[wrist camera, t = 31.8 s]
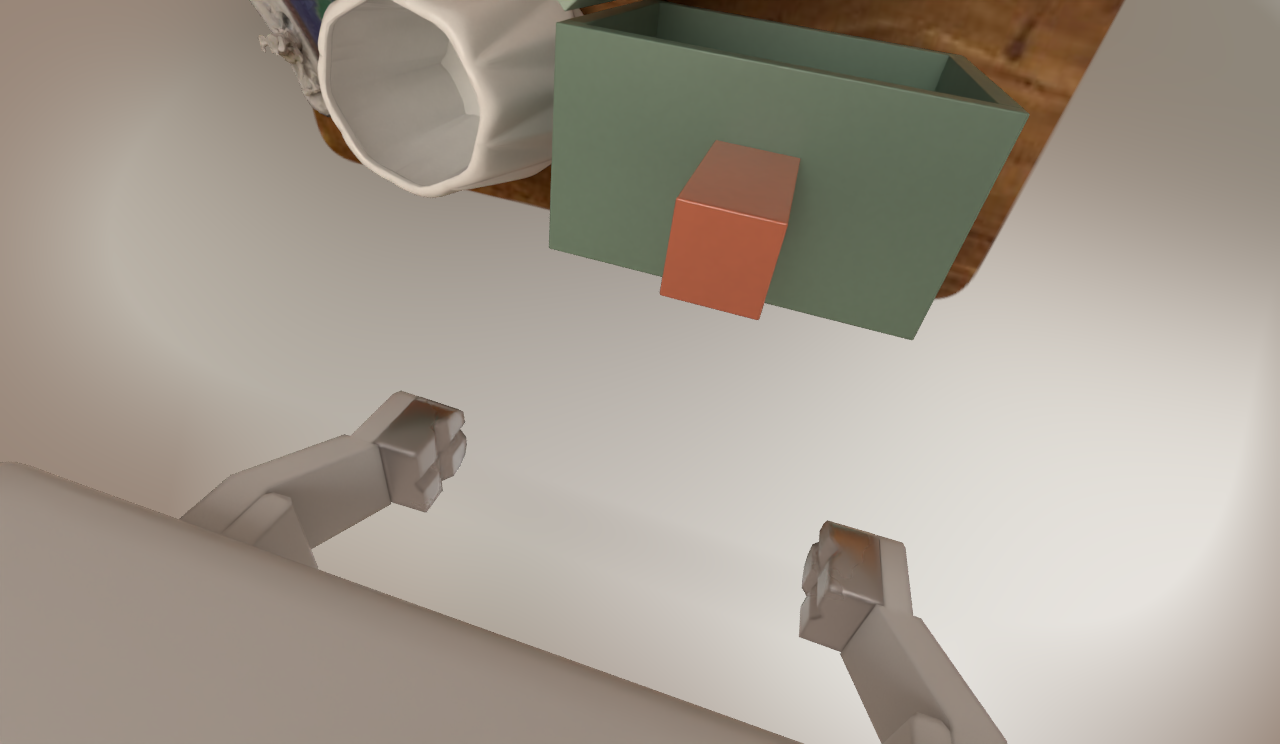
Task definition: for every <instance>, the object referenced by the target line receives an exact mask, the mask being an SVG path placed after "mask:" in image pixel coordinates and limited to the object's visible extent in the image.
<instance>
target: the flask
mask: <svg viewBox="0 0 1280 744" xmlns="http://www.w3.org/2000/svg"><path fill="white" fill-rule="evenodd" d="M249 1H250V2H251V3H252V4H253V6H254V7H255V9H256V11H257V12H258V13H259V14H260V16H261V17H262V18H263V20H264V21H265V23H266V24H267V26H268V28H269V29H270V30H271V32H272V33H271V34H268V35H267V37H264V36H262V35H259V37H258V40H259V42H260V44H261V50H262V51H263V52H266V49H265V47H266V46H267V45H268V46H269V47H270V49H271V51H272V53H273V54H274V53H275V54H277V56H278V54H280V55H281V56H282V57H283V58H285V60H286V61H287V62H289V63H290V64H291V66H292V69H293V70H294V72H295V73H296V75H297V77H298V81H299V84H300V85H301V87H302V93H303V95H304V96H305V98H306V99H307V100H308V102H309V104H310V105H311V106H312V107H313V108H314V109H315V110H318V111H319V113H321V114H323V115H325V116H327V117H331V116H330V114H329V112H328V110H327V107H326V105H325V102H324V99H323V97H322V93H321V89H320V84H319V79H318V72H317V65H318V60H319V55H320V54H319V51H318V37H319V32H320V27H321V22H322V19H323V16H324V13H325V11H326V9H327V7H328V6H329V5H330V4H331V3H332V2H334V1H335V0H249Z"/></svg>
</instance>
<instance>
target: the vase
mask: <svg viewBox="0 0 1280 744" xmlns="http://www.w3.org/2000/svg"><path fill="white" fill-rule="evenodd" d="M579 16H583V13H582V12H581V10H580V9H579V8H578V9H574V10H569V11H564V10H563V8H562V7H561V5H560V4H559V2H558V1H557V0H335V1H334V2H332V3H331V4H330V5H329V6H328V7H327V9H326V11H325V13H324V16H323V19H322V22H321V27H320V32H319V37H318V51H319V54H320V55H319V60H318V65H317V72H318V79H319V84H320V89H321V93H322V97H323V99H324V102H325V105H326V107H327V110H328V112H329V114H330V116H331V118H332V120H333V121H334V123H335V124H336V126H337V127H338V128H339V130H340V131H341V133H342V136H343V138H344V140H345V142H346V144H347V145H348V147H349V148H350V149H351V151H352V152H353V153H354V154H355V156H356V157H357V158H358V159H359V161H360V162H361V163H362V164H363V165H364V166H366V167H367V168H369V169H370V170H371V171H373V172H374V173H376V174H377V175H379V176H380V177H382V178H384V179H386V180H389V181H391V182H393V183H394V184H396V185H397V186H399V187H401V188H402V189H404V190H406V191H408V192H410V193H413V194H415V195H418V196H422V197H427V198H436V197H441V196H445V195H448V194H451V193H454V192H458V191H461V190H467V189H473V188H478V187H484V186H489V185H494V184H499V183H504V182H509V181H514V180H519V179H523V178H527V177H530V176H533V175H535V174H537V173H538V172H540V171H542V170H543V169H545V168H546V167H548V166H549V165H550V164H552V133H553V101H554V69H555V37H556V22H560V21H564V20H567V19H571V18H575V17H579Z"/></svg>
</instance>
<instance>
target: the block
mask: <svg viewBox="0 0 1280 744" xmlns="http://www.w3.org/2000/svg"><path fill="white" fill-rule="evenodd" d="M800 162H801V159H800V158H797V157H792V156H788V155H783V154H779V153H774V152H769V151H765V150H760V149H756V148H751V147H746V146H742V145H737V144H732V143H728V142H723V141H719V140H715V141H714V143H713V144H712V146H711V147H710V149H709V150H708V152H707V153H706V155H705V156H704V158H703V159H702V161H701V162H700V164H699V165H698V167H697V168H696V170H695V171H694V173H693V174H692V176H691V177H690V179H689V180H688V181H687V183H686V184H685V186H684V187H683V189H682V190H681V192H680V193H679V195H678V196H677V198H676V201H675V206H674V212H673V218H672V224H671V230H670V235H669V241H668V247H667V253H666V259H665V265H664V270H663V276H662V282H661V288H660V295H662V296H666V297H670V298H674V299H678V300H681V301H685V302H690V303H693V304H697V305H701V306H705V307H709V308H713V309H716V310H720V311H724V312H728V313H732V314H735V315H739V316H744V317H747V318H751V319H755V320H759V318H760V315H761V312H762V309H763V305H764V302H765V299H766V296H767V293H768V289H769V286H770V283H771V279H772V276H773V273H774V270H775V266H776V263H777V260H778V257H779V253H780V250H781V247H782V244H783V240H784V237H785V234H786V231H787V227H788V223H789V218H790V213H791V208H792V203H793V198H794V193H795V188H796V183H797V178H798V172H799V167H800Z"/></svg>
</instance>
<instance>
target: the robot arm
mask: <svg viewBox="0 0 1280 744" xmlns="http://www.w3.org/2000/svg"><path fill="white" fill-rule="evenodd" d="M464 423H465V420H464V413H463V411H461V410H459V409H455V408H453V407H449V406H446V405H444V404H441V403H438V402H435V401H432V400H428V399H425V398H423V397H419V396H415V395H412V394H409V393H406V392H403V391H399V392H396V393H394V394H393V395H392V396H391V397H390V398H389V399H388V400H387V401H386V402H385V403H384V404H383V405H381V406H380V407H379V408H378V410H376V411H375V412H374V413H373V414H372V415H371V416H370V417H369V418H368V419H367V420H366V421H365V422H364V423H363V424H362V425H361V426H360V427H359V428H358V429H357V430H356V431H355V432H354V433H353V434H352V435H351V436H348V435H345V434H344V435H341V436H339V437H336V438H333V439H330V440H327V441H325V442H322V443H319V444H316V445H313V446H311V447H308V448H305V449H302V450H299V451H297V452H294V453H292V454H288V455H286V456H283V457H280V458H277V459H274V460H271V461H269V462H266V463H263V464H260V465H257V466H255V467H252V468H249V469H246V470H243V471H241V472H238V473H235V474H232V475H230V476H229V477H228V478H227V479H225V480H224V481H223V482H222V483H221V484H220V485H218V486H217V487H216V488H215V489H214V490H212V491H211V492H210V493H209V494H208V495H207V496H206V497H204V498H203V499H202V500H201V501H200V502H198V503H197V504H196V505H195V506H194V507H193V508H191V509H190V510H189V511H188V512H187V513H186V514H185V515H184V516H182V517H181V518H180V519H176V518H173V517H171V516H168V515H165V514H162V513H160V512H156V511H154V510H151V509H148V508H146V507H143V506H140V505H137V504H134V503H132V502H129V501H126V500H123V499H121V498H118V497H115V496H112V495H110V494H107V493H104V492H101V491H98V490H96V489H93V488H90V487H87V486H84V485H82V484H79V483H76V482H73V481H71V480H68V479H65V478H62V477H60V476H57V475H54V474H51V473H49V472H46V471H43V470H41V469H38V468H35V467H32V466H29V465H26V464H22V463H17V462H0V744H803V743H800V742H798V741H795V740H792V739H789V738H786V737H784V736H781V735H778V734H775V733H772V732H769V731H767V730H764V729H761V728H759V727H756V726H753V725H750V724H747V723H745V722H742V721H739V720H736V719H733V718H730V717H728V716H725V715H722V714H720V713H717V712H714V711H711V710H708V709H706V708H703V707H700V706H697V705H694V704H692V703H689V702H686V701H683V700H680V699H678V698H675V697H672V696H669V695H667V694H664V693H661V692H658V691H656V690H653V689H650V688H647V687H644V686H642V685H638V684H636V683H633V682H630V681H628V680H625V679H622V678H619V677H616V676H614V675H611V674H608V673H605V672H603V671H600V670H597V669H594V668H591V667H589V666H586V665H583V664H580V663H577V662H575V661H572V660H569V659H566V658H564V657H561V656H558V655H555V654H552V653H550V652H547V651H544V650H541V649H538V648H535V647H533V646H530V645H527V644H524V643H521V642H519V641H516V640H513V639H510V638H507V637H505V636H502V635H499V634H496V633H494V632H491V631H488V630H485V629H482V628H480V627H477V626H474V625H471V624H469V623H466V622H463V621H460V620H457V619H455V618H452V617H449V616H446V615H443V614H441V613H437V612H435V611H432V610H429V609H427V608H424V607H421V606H418V605H416V604H413V603H410V602H407V601H404V600H402V599H399V598H396V597H393V596H390V595H388V594H385V593H381V592H379V591H377V590H374V589H371V588H368V587H365V586H362V585H360V584H357V583H354V582H351V581H349V580H346V579H343V578H340V577H337V576H335V575H332V574H329V573H326V572H323V571H321V570H318V566H317V563H316V561H315V558H314V556H313V553H312V551H311V549H312V548H314V547H316V546H318V545H319V544H321V543H323V542H325V541H326V540H328V539H330V538H332V537H333V536H335V535H337V534H339V533H341V532H342V531H344V530H346V529H348V528H350V527H351V526H353V525H355V524H357V523H358V522H360V521H362V520H364V519H365V518H367V517H369V516H371V515H372V514H374V513H376V512H378V511H380V510H381V509H383V508H385V507H387V506H389V505H390V504H391V502H393V503H396V504H400V505H403V506H406V507H409V508H413V509H416V510H419V511H423V512H427V511H428V509H429V508H430V507H431V505H432V504H433V503H434V501H435V500H436V499H437V497H438V496H439V494H440V493H441V492H442V491H443V489H442V481H443V480H445V479H447V478H450V477H452V476H454V474H455V473H456V471H457V470H458V469H459V467H460V465H461V463H462V461H463V458H464V456H465V452H466V445H467V443H466V436H465V435H464V434H463V432H462V431H461V430H460V428H461V427H462V426H463V424H464ZM802 589H803V590H804V592H805V594H806V596H807V597H806V598H805V600H804V602H803V604H802V606H801V610H800V630H799V637H801V638H804V639H807V640H809V641H812V642H815V643H817V644H821V645H823V646H826V647H829V648H831V649H834V650H837V651H840V652H841V654H840V655H841V657H842V659H843V661H844V663H845V665H846V668H847V670H848V671H849V674H850V676H851V678H852V681H853V682H854V685H855V687H856V689H857V691H858V694H859V695H860V698H861V700H862V702H863V704H864V707H865V709H866V711H867V713H868V715H869V717H870V719H871V722H872V724H873V726H874V728H875V730H876V732H877V735H878V737H879V739H880V741H881V743H882V744H1007V741H1006V740H1005V738H1004V737H1003V735H1002V734H1001V732H1000V731H999V729H998V728H997V727H996V725H995V724H994V722H993V721H992V720H991V718H990V716H989V715H988V714H987V712H986V711H985V709H984V708H983V706H982V705H981V704H980V702H979V701H978V699H977V698H976V696H975V695H974V694H973V692H972V691H971V689H970V688H969V686H968V685H967V684H966V682H965V681H964V680H963V678H962V676H961V675H960V674H959V672H958V671H957V669H956V668H955V667H954V665H953V664H952V662H951V661H950V660H949V658H948V656H947V655H946V654H945V652H944V651H943V649H942V648H941V647H940V645H939V644H938V642H937V641H936V639H935V638H934V636H933V635H932V634H931V632H930V631H929V629H928V628H927V627H926V625H925V624H924V622H923V621H922V619H921V618H918V617H915V616H913V610H912V601H911V592H910V584H909V575H908V566H907V558H906V549H905V546H904V545H903V543H902V542H898V541H895V540H892V539H888V538H885V537H882V536H878V535H875V534H872V533H869V532H865V531H862V530H858V529H855V528H851V527H848V526H845V525H841V524H837V523H834V522H831V521H826V522H825V523H824V524H823V526H822V528H821V530H820V535H819V542H818V543H815V544H813V545H812V547H811V550H810V551H809V553H808V556H807V559H806V563H805V566H804V572H803V580H802Z"/></svg>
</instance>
